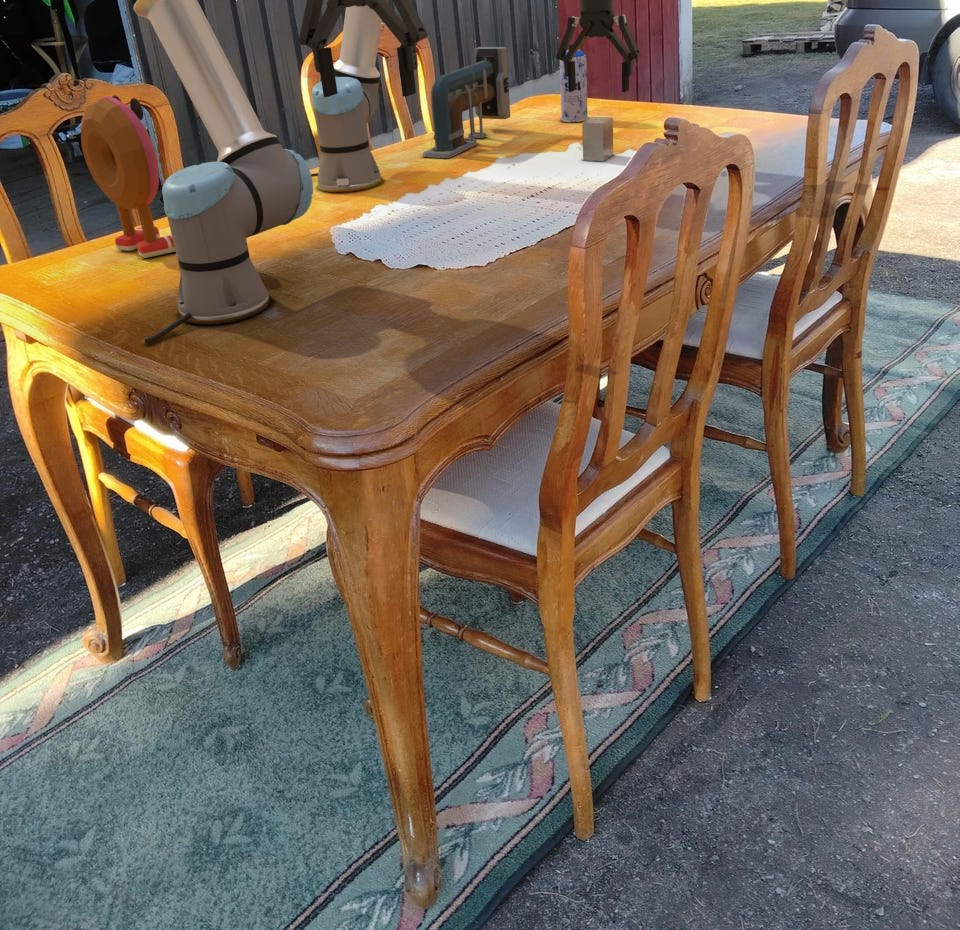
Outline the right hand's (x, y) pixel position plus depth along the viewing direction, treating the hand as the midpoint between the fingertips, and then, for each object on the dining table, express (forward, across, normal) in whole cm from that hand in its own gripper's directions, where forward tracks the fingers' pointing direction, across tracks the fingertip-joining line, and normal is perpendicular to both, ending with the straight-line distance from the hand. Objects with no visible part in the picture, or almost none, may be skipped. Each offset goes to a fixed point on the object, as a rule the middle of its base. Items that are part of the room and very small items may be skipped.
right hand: (598, 91), depth 230 cm
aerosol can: (+15, +24, -40) cm, 49 cm away
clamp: (+15, +42, -9) cm, 46 cm away
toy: (+14, +63, +89) cm, 110 cm away
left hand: (-19, -6, +102) cm, 104 cm away
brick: (+16, 0, 0) cm, 16 cm away
